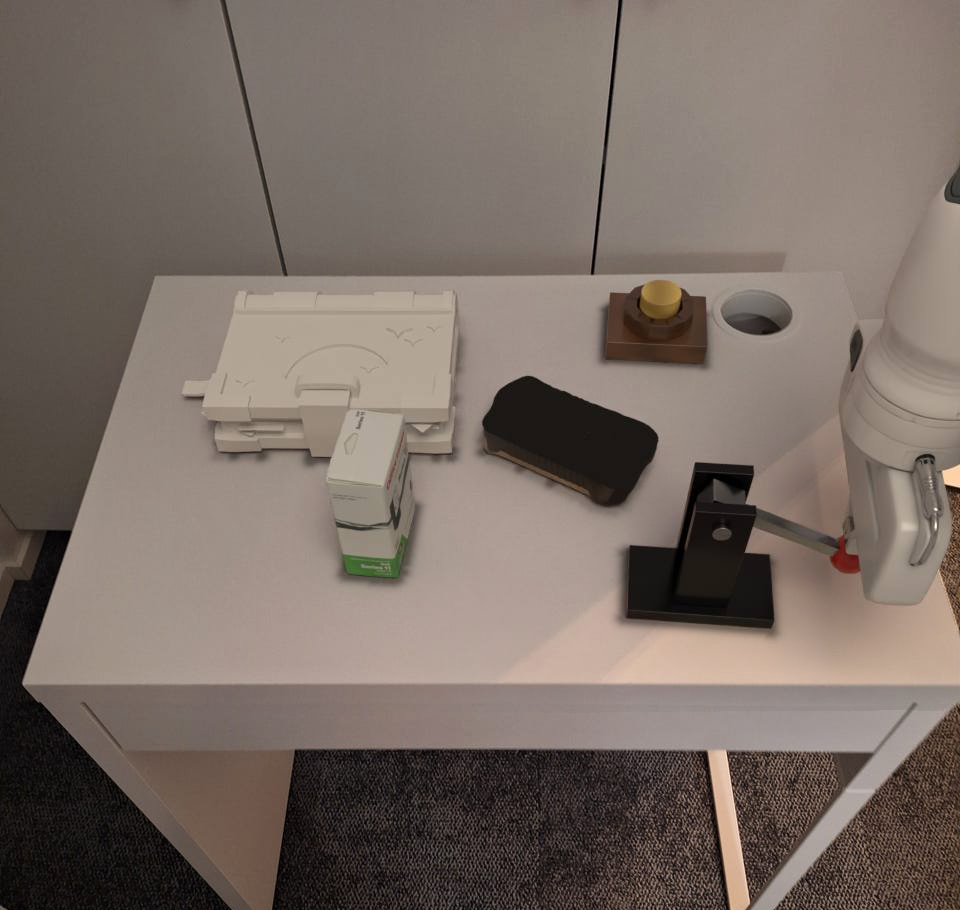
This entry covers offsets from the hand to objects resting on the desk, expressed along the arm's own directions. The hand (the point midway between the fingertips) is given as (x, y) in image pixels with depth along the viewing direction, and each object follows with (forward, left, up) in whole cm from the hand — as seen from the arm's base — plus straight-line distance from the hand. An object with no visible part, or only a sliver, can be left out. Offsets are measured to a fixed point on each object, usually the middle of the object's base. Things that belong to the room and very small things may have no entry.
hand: (854, 540), depth 74 cm
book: (+48, -21, -8) cm, 53 cm away
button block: (+15, -33, -8) cm, 37 cm away
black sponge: (+23, -15, -8) cm, 28 cm away
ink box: (+39, -3, -8) cm, 40 cm away
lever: (+6, 0, -1) cm, 6 cm away
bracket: (+11, 0, -8) cm, 13 cm away
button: (+15, -33, -4) cm, 36 cm away
